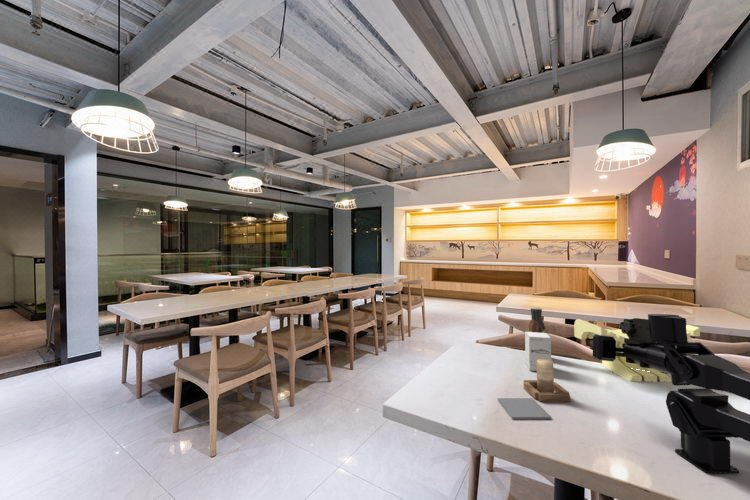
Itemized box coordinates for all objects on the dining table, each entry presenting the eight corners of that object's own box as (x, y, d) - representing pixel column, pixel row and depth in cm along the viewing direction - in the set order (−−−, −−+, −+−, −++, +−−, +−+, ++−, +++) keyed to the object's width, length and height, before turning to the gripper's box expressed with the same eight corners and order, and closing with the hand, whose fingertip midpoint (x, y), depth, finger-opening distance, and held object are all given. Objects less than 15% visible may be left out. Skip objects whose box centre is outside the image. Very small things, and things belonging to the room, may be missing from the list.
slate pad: (551, 419, 78) (551, 416, 78) (512, 419, 78) (512, 416, 78) (532, 400, 88) (532, 398, 88) (497, 400, 88) (497, 398, 88)
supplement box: (529, 371, 109) (528, 336, 109) (525, 363, 116) (524, 331, 116) (552, 373, 107) (551, 337, 107) (546, 365, 114) (546, 332, 114)
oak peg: (557, 397, 89) (556, 363, 89) (542, 397, 89) (541, 363, 89) (548, 390, 94) (548, 358, 94) (534, 390, 94) (533, 358, 94)
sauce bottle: (549, 360, 119) (547, 310, 119) (532, 359, 120) (530, 309, 121) (543, 354, 126) (542, 307, 126) (527, 354, 127) (526, 306, 127)
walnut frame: (572, 401, 86) (572, 394, 86) (537, 401, 86) (537, 394, 87) (552, 386, 96) (552, 380, 96) (521, 386, 96) (521, 380, 97)
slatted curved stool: (659, 364, 113) (658, 317, 113) (701, 382, 97) (699, 327, 97) (575, 363, 116) (573, 316, 116) (602, 380, 100) (601, 327, 100)
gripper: (696, 326, 72) (639, 318, 87) (618, 319, 72) (575, 312, 87) (697, 374, 71) (639, 358, 86) (617, 366, 71) (574, 351, 86)
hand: (606, 343), depth 86 cm, fingers open, 9 cm apart
